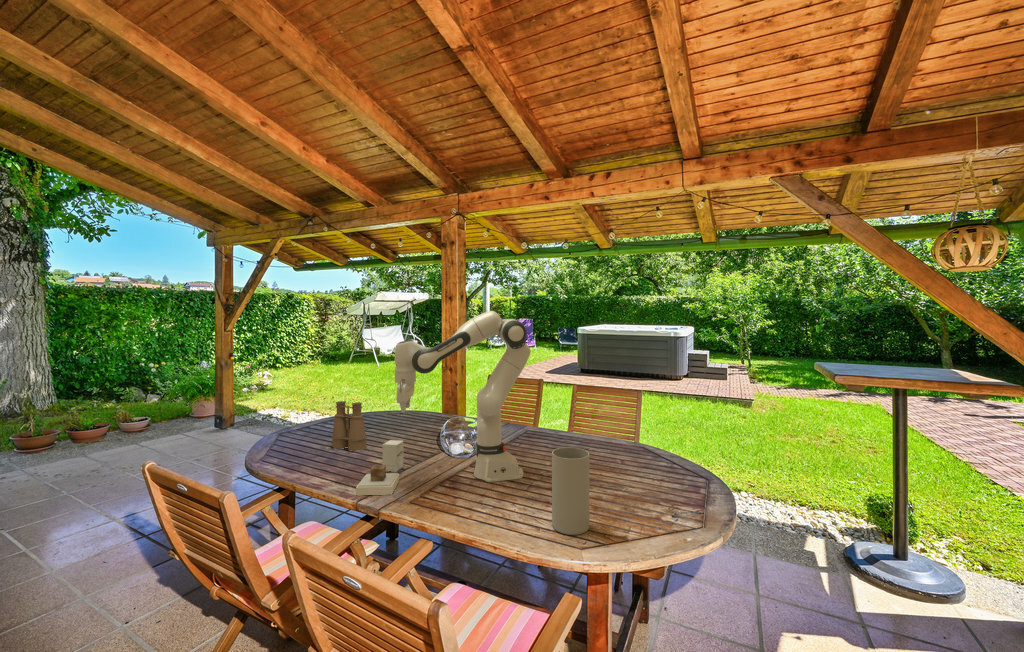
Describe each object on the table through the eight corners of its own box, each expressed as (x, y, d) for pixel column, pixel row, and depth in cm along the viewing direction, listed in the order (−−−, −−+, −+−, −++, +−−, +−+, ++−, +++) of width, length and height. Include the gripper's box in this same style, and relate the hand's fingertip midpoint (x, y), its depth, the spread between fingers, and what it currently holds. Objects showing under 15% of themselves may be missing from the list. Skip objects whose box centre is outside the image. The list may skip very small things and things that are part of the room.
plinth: (399, 481, 182) (399, 472, 182) (391, 495, 168) (391, 485, 168) (366, 482, 181) (366, 473, 181) (356, 496, 167) (355, 486, 167)
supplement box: (396, 472, 193) (396, 445, 193) (381, 471, 195) (381, 444, 194) (404, 466, 200) (403, 440, 200) (389, 465, 202) (389, 439, 202)
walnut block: (386, 476, 177) (385, 464, 177) (383, 481, 172) (383, 469, 172) (373, 476, 177) (373, 465, 177) (370, 481, 172) (370, 469, 172)
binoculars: (327, 449, 228) (326, 403, 228) (340, 443, 238) (340, 399, 237) (358, 453, 221) (358, 405, 221) (370, 447, 231) (370, 402, 230)
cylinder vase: (555, 515, 150) (555, 446, 149) (591, 520, 146) (591, 449, 146) (548, 533, 138) (548, 457, 137) (587, 538, 134) (587, 460, 134)
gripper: (408, 381, 171) (408, 415, 171) (416, 374, 192) (416, 405, 192) (392, 381, 171) (392, 415, 171) (402, 374, 191) (402, 405, 191)
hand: (405, 409), depth 182 cm, fingers open, 8 cm apart
